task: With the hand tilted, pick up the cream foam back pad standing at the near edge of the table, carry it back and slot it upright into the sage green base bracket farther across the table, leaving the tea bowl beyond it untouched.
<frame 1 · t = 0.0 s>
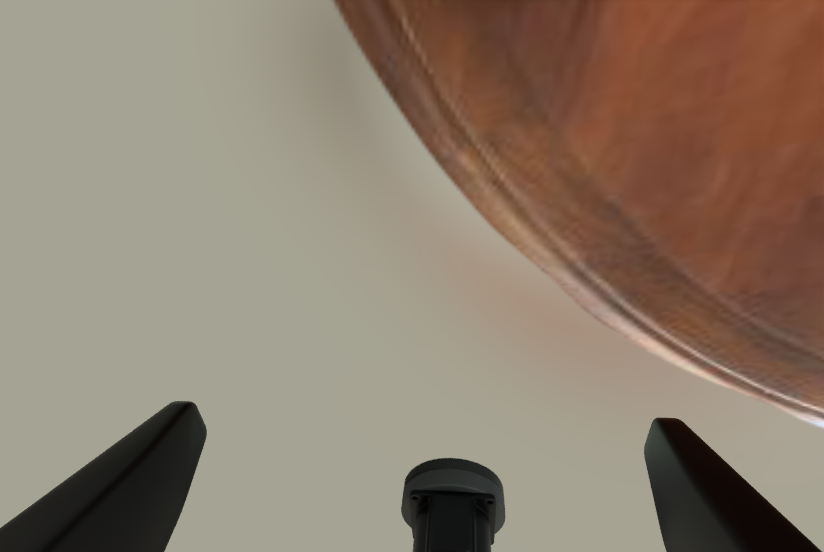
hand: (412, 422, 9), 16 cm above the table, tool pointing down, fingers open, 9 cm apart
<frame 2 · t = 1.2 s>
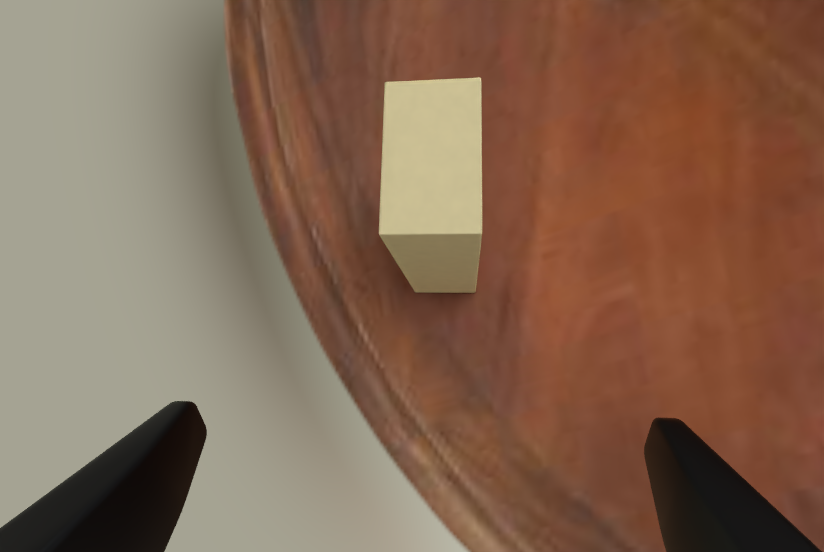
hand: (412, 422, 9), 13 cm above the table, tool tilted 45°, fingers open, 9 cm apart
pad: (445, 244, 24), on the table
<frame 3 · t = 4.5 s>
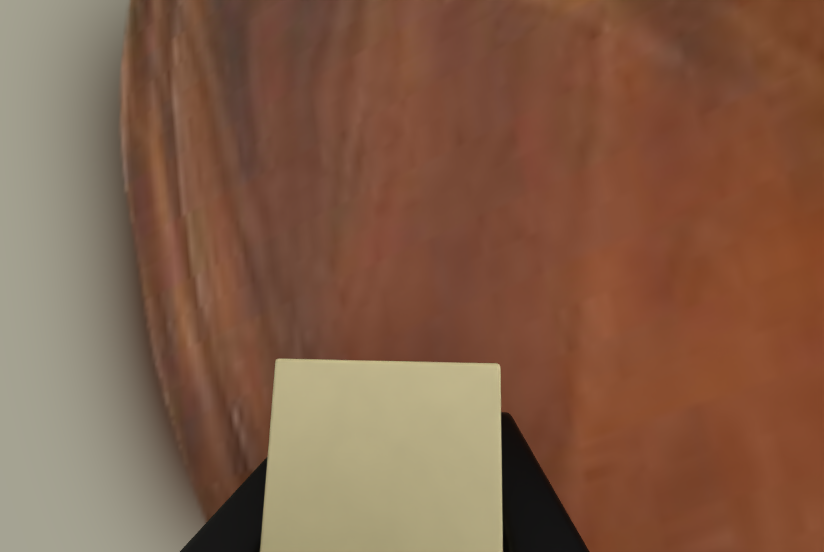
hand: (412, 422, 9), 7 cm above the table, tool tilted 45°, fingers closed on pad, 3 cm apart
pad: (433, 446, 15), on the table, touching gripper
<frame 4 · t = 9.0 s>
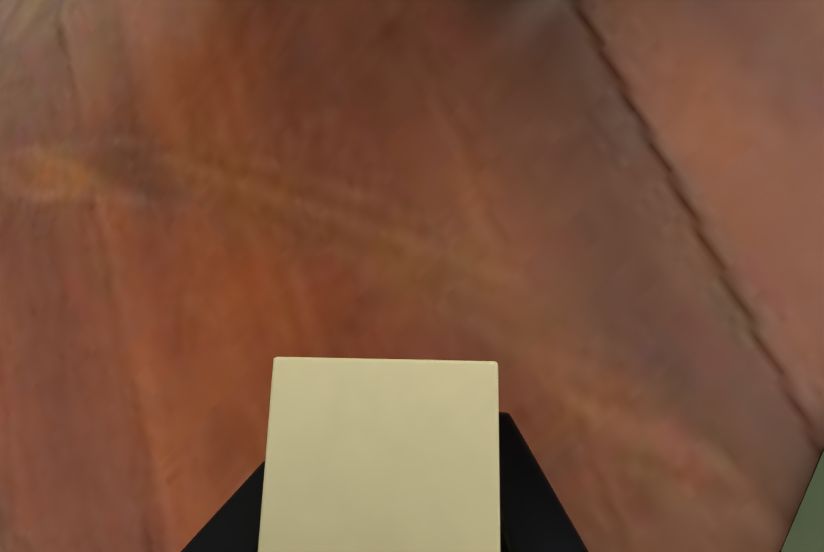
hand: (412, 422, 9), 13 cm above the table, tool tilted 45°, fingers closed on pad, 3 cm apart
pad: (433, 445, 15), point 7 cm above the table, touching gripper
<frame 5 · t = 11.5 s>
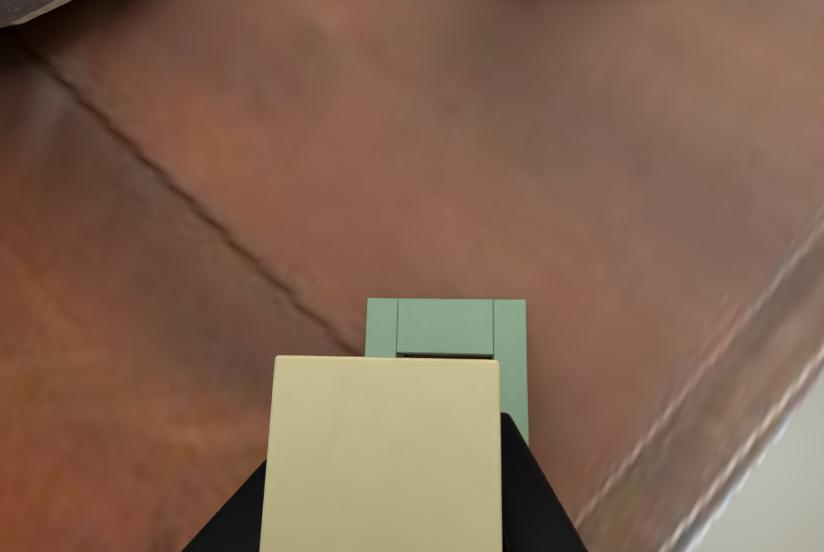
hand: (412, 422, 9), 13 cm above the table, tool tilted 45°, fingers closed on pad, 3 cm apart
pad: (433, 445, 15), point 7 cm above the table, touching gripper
pad base: (445, 422, 22), on the table
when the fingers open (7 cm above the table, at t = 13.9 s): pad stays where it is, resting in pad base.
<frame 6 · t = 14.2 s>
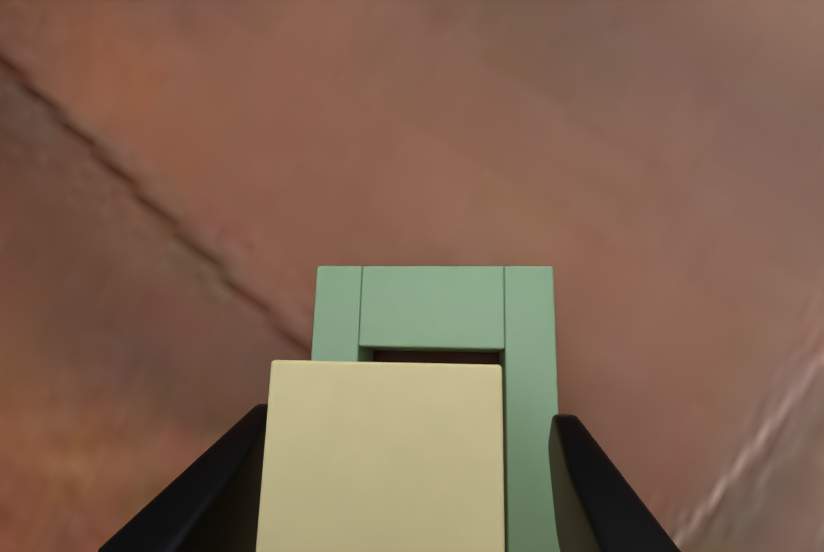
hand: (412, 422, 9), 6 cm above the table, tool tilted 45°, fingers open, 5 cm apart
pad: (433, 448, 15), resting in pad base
pad base: (434, 448, 15), on the table
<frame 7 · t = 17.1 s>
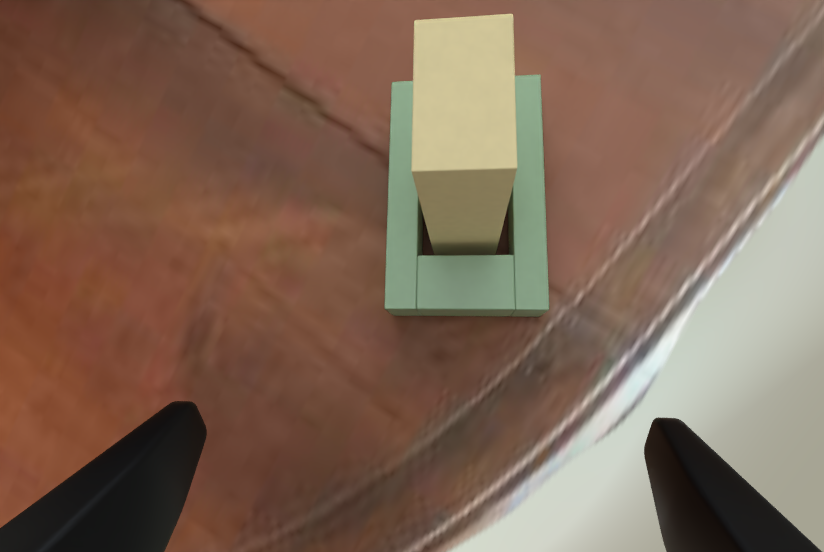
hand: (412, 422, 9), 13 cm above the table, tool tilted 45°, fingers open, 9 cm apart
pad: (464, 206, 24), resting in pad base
pad base: (465, 206, 24), on the table
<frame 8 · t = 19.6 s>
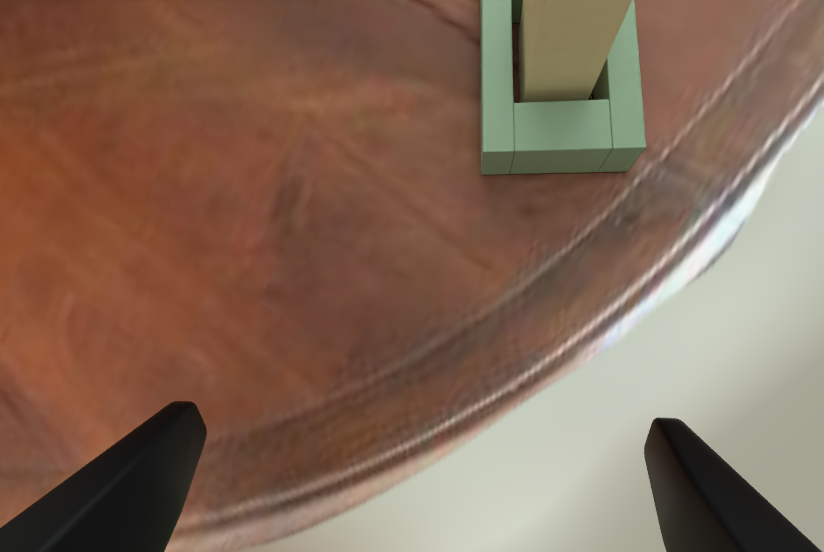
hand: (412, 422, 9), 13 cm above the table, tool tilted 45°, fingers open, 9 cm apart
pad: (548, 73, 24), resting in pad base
pad base: (549, 73, 24), on the table
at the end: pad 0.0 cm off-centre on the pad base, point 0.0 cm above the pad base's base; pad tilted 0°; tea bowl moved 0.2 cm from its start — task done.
